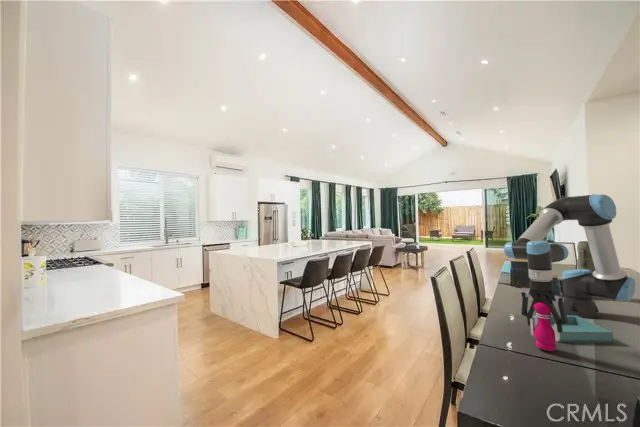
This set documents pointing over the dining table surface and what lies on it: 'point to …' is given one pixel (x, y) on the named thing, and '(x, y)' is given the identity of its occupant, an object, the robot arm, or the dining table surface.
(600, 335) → the tray
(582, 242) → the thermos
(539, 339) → the pepper mill
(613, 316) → the dining table surface
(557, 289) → the canister
